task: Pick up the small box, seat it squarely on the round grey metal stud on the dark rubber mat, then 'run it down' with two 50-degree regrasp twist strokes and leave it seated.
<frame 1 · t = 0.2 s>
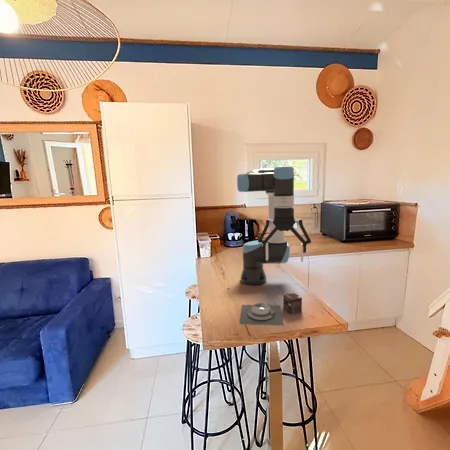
hand: (284, 260, 110), 27 cm above the breakfast bar, fingers open, 13 cm apart
mat: (261, 314, 122), on the breakfast bar
box: (292, 311, 124), on the breakfast bar
stud: (261, 310, 122), on the mat
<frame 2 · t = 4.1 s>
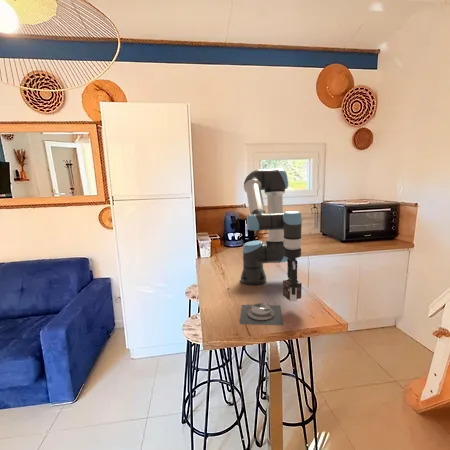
hand: (291, 296, 124), 7 cm above the breakfast bar, fingers closed on box, 8 cm apart
box: (291, 297, 124), point 6 cm above the breakfast bar, touching gripper
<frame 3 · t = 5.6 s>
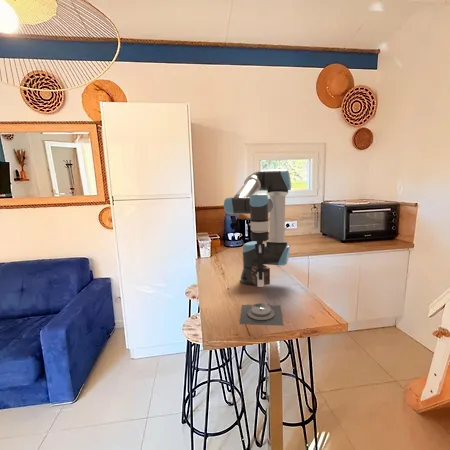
hand: (260, 282, 119), 15 cm above the breakfast bar, fingers closed on box, 8 cm apart
box: (260, 283, 120), point 14 cm above the breakfast bar, touching gripper
when the fingers open (4 cm above the breakfast bar, at t = 8.1 s): box stays where it is, resting on stud.
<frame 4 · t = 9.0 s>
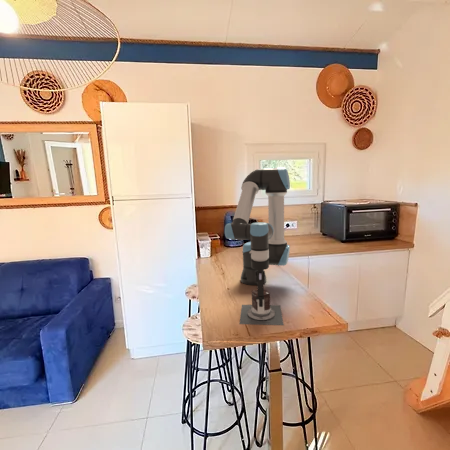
hand: (260, 305, 121), 4 cm above the breakfast bar, fingers open, 13 cm apart
box: (260, 308, 121), point 3 cm above the breakfast bar, touching stud
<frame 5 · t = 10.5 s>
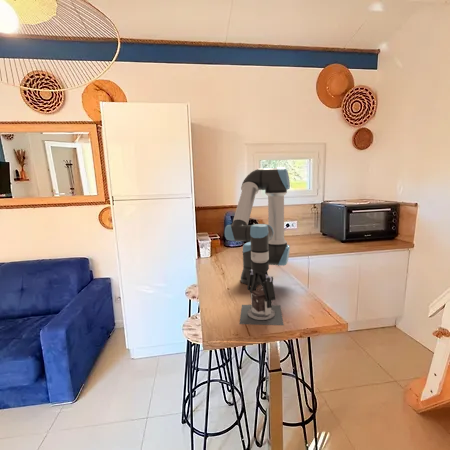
hand: (260, 310, 121), 2 cm above the breakfast bar, fingers closed on stud, 8 cm apart
nothing on the breakfast bar moved.
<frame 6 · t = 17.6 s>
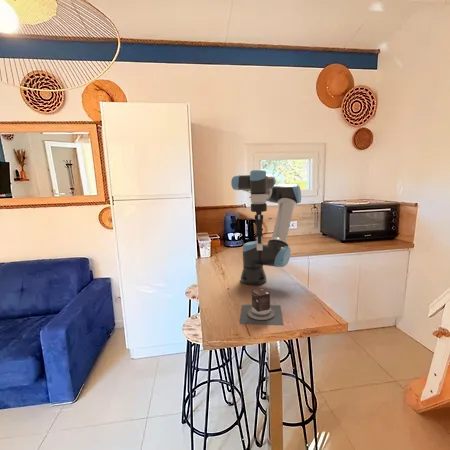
hand: (259, 246, 134), 27 cm above the breakfast bar, fingers open, 13 cm apart
nothing on the breakfast bar moved.
at the end: box 0.1 cm off-centre on the stud, point 2.8 cm above the stud's base; box tilted 0°; the gripper is holding nothing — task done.
